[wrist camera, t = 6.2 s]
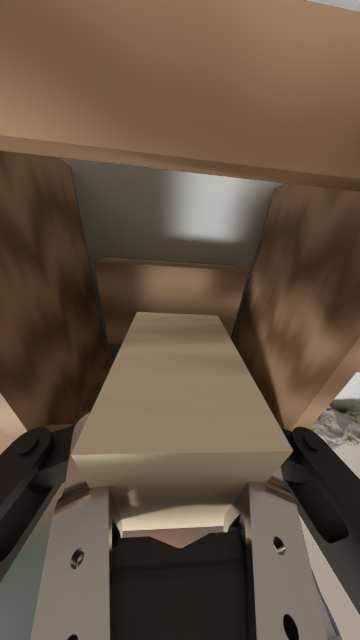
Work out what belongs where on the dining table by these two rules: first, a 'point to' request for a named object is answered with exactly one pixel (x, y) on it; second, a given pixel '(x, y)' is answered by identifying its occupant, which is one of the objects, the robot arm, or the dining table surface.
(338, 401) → the dining table surface
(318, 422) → the rock
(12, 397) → the access box
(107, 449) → the block
